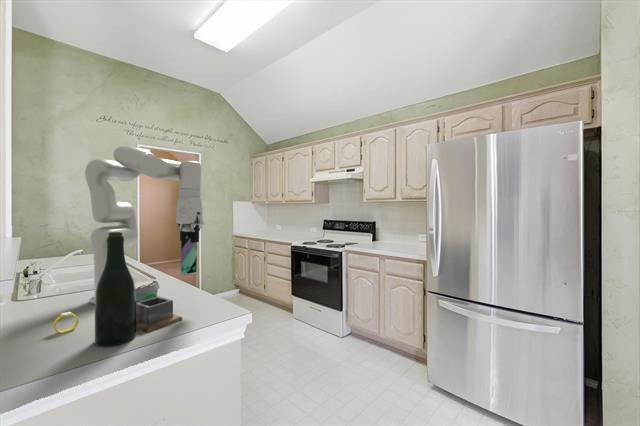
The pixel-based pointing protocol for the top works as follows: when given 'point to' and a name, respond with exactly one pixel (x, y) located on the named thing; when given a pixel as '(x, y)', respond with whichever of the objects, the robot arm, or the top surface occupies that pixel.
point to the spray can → (188, 252)
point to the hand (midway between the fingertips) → (189, 240)
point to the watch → (65, 316)
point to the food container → (147, 291)
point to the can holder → (155, 314)
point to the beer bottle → (115, 297)
